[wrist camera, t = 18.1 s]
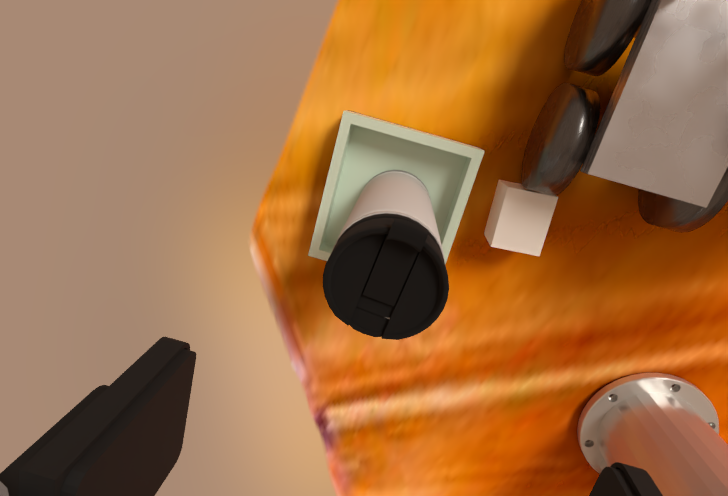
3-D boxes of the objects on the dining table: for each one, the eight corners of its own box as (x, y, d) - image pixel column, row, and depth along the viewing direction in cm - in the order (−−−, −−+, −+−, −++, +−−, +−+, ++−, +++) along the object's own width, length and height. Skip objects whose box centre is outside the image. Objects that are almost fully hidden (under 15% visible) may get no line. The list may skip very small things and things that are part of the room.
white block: (527, 242, 42) (539, 256, 38) (483, 233, 42) (490, 246, 38) (544, 188, 40) (558, 197, 36) (498, 179, 40) (507, 187, 36)
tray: (433, 280, 43) (435, 292, 41) (314, 245, 43) (308, 255, 41) (479, 147, 39) (484, 151, 37) (348, 110, 40) (343, 110, 37)
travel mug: (443, 181, 40) (476, 250, 21) (414, 248, 42) (420, 368, 23) (375, 154, 40) (347, 200, 21) (349, 224, 42) (301, 323, 23)
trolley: (648, 218, 40) (865, 322, 21) (513, 179, 40) (607, 248, 21) (750, 5, 35) (1165, -116, 16) (595, -38, 35) (819, -211, 16)
